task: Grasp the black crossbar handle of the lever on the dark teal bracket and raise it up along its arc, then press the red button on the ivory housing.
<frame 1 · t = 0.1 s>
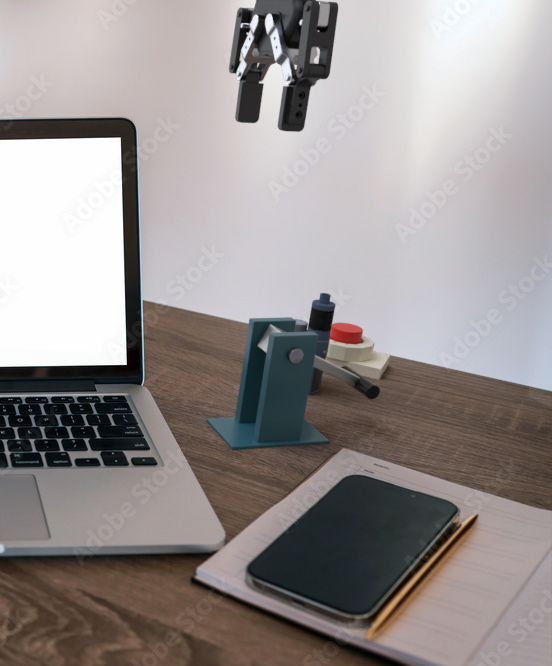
hand: (266, 126, 72), 29 cm above the table, tool pointing down, fingers open, 8 cm apart
button: (345, 334, 93), point 4 cm above the table, slide at 0.1 cm
vaping device: (295, 395, 87), on the table
button box: (339, 368, 95), on the table
bracket: (264, 440, 76), on the table
lever: (317, 362, 74), point 8 cm above the table, hinge at -25.0°
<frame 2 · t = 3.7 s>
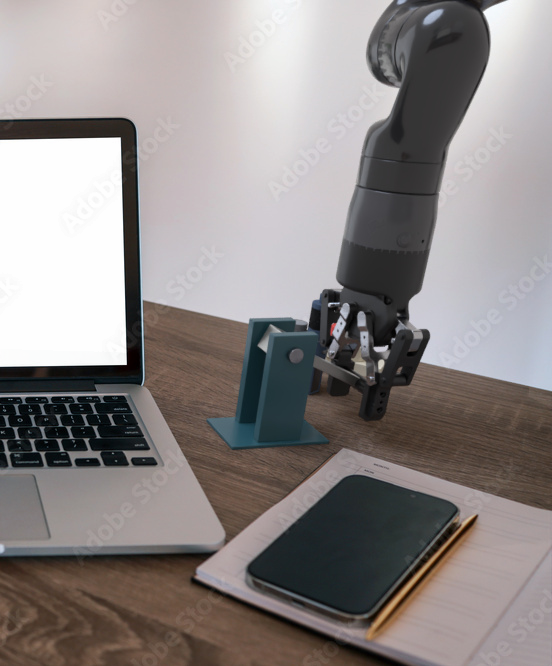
hand: (353, 405, 76), 3 cm above the table, tool pointing down, fingers closed on lever, 5 cm apart
lever: (317, 362, 74), point 8 cm above the table, hinge at -25.1°, touching gripper
everything else where it was.
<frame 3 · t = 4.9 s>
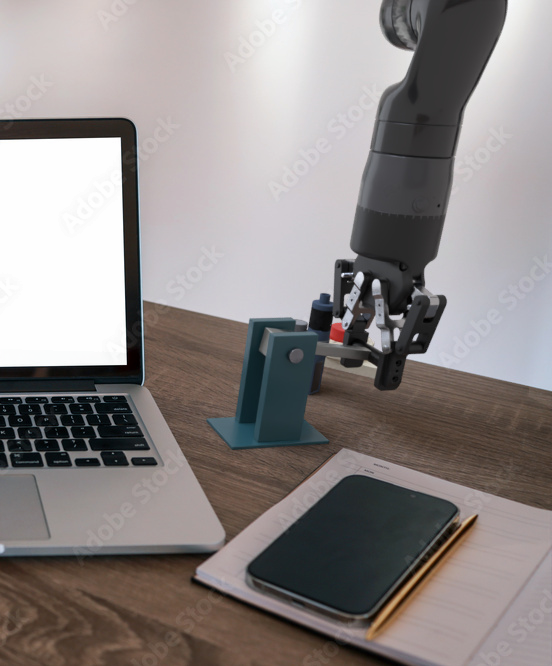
hand: (367, 376, 76), 6 cm above the table, tool pointing down, fingers closed on lever, 5 cm apart
lever: (323, 349, 73), point 9 cm above the table, hinge at -7.7°, touching gripper
everything else where it was.
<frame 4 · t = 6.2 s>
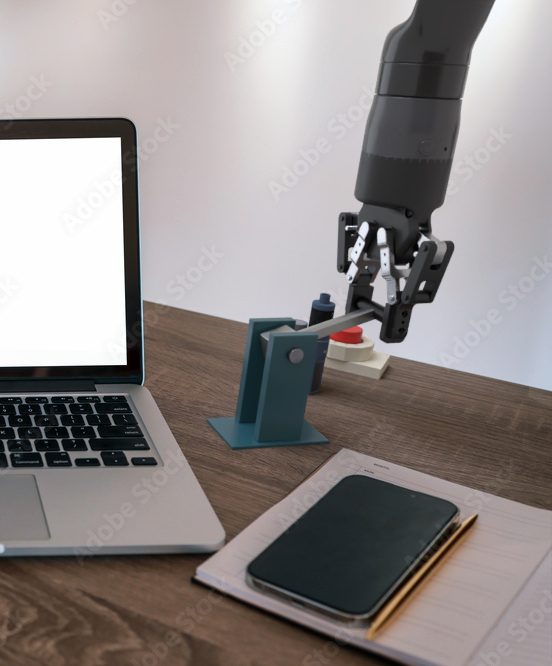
hand: (372, 330, 74), 11 cm above the table, tool pointing down, fingers closed on lever, 5 cm apart
lever: (325, 328, 73), point 11 cm above the table, hinge at 17.8°, touching gripper
everything else where it was.
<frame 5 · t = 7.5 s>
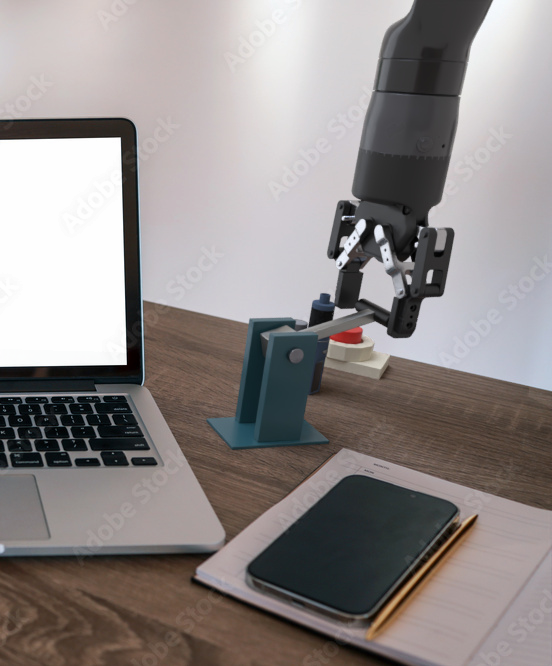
hand: (370, 321, 73), 12 cm above the table, tool pointing down, fingers open, 8 cm apart
lever: (325, 329, 73), point 11 cm above the table, hinge at 16.5°
everything else where it was.
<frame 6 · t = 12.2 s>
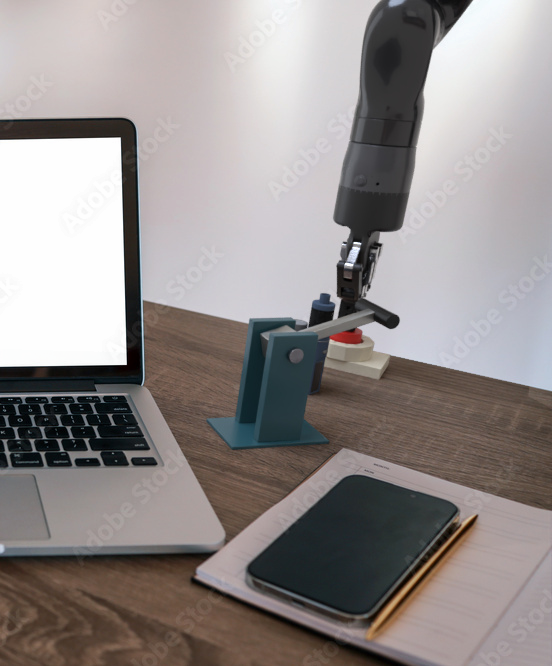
hand: (346, 329, 93), 5 cm above the table, tool pointing down, fingers closed
button: (345, 336, 93), point 4 cm above the table, slide at -0.1 cm, touching gripper
everything else where it was.
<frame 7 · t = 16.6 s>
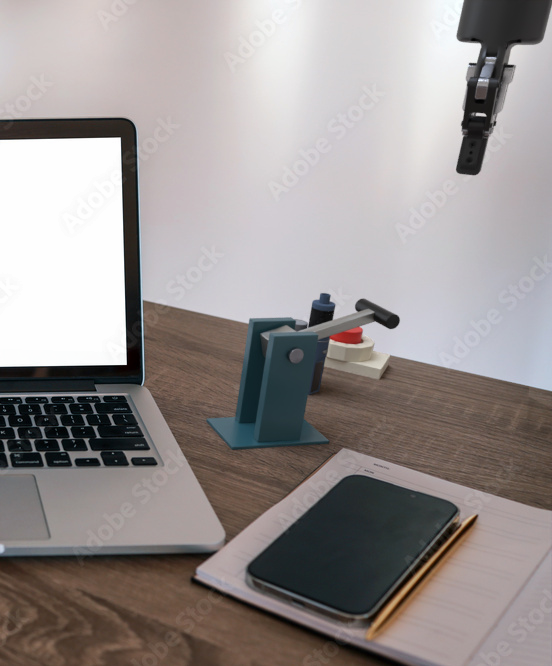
hand: (467, 173, 80), 25 cm above the table, tool pointing down, fingers closed
button: (345, 334, 93), point 4 cm above the table, slide at 0.1 cm
everything else where it was.
at the end: lever at +16° (first picture: -25°); button pushed in 1.1 cm at the most during the clip, back to where it started at the end; button slide at 0.1 cm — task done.
